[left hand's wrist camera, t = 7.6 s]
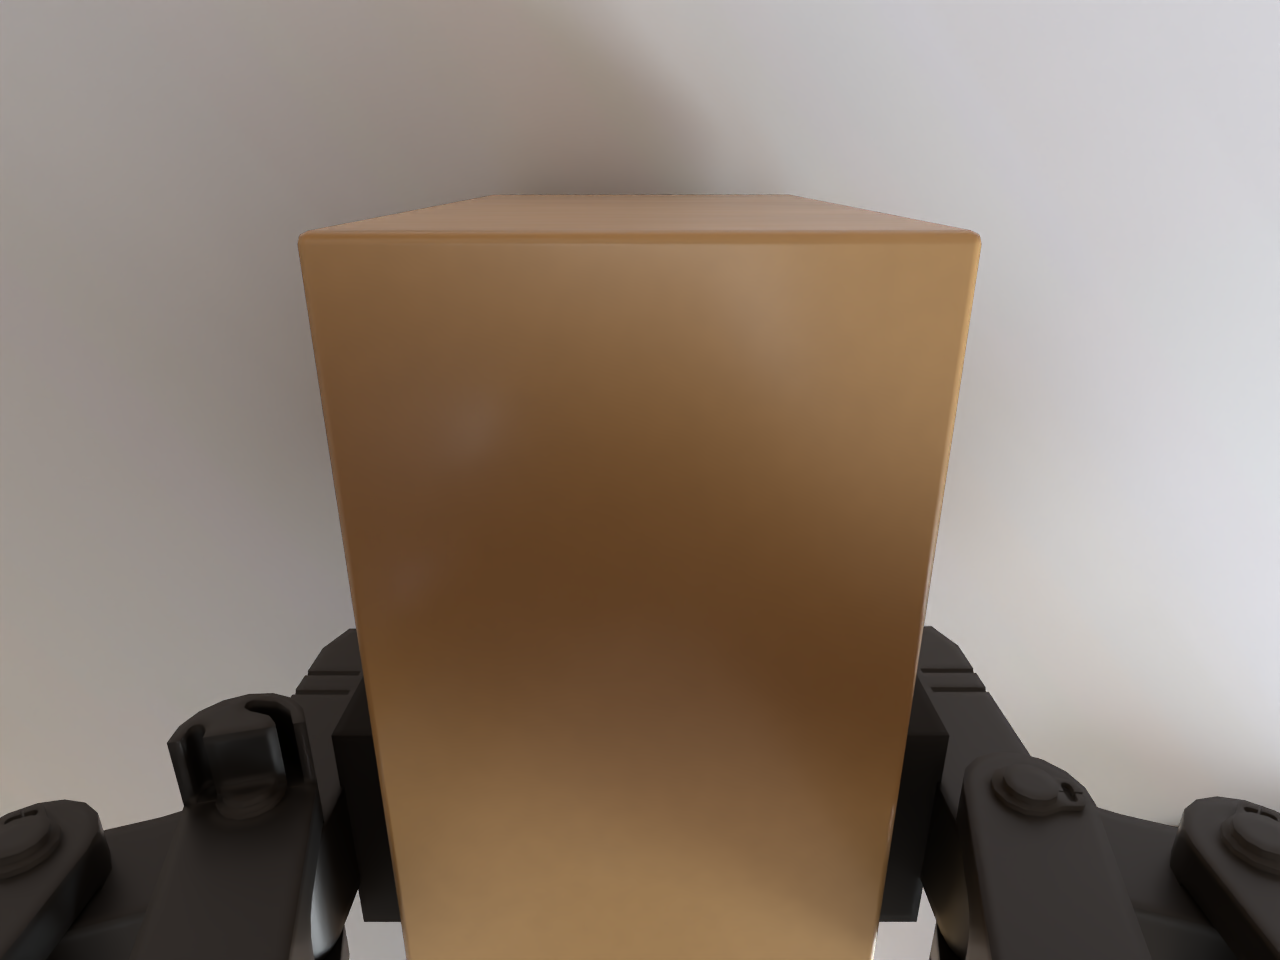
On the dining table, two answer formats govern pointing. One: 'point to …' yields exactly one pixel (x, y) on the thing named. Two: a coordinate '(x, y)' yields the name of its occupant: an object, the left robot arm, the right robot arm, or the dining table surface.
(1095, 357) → the dining table surface
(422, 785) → the beam
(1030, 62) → the dining table surface
